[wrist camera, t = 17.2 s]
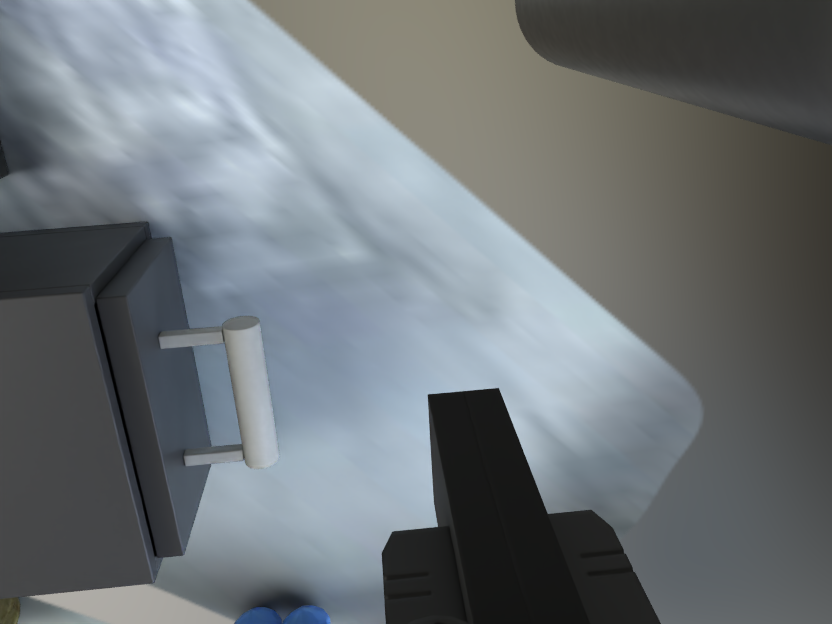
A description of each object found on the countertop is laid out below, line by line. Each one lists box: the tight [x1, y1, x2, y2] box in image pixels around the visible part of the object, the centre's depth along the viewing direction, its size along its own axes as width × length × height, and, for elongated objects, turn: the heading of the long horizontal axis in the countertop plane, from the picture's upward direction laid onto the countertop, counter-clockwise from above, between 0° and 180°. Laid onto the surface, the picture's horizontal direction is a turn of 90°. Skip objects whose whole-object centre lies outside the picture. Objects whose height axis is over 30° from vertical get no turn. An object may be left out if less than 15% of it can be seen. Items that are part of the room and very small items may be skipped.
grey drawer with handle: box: [94, 237, 280, 558], centre depth 34 cm, size 19×12×8 cm, turn 93°
